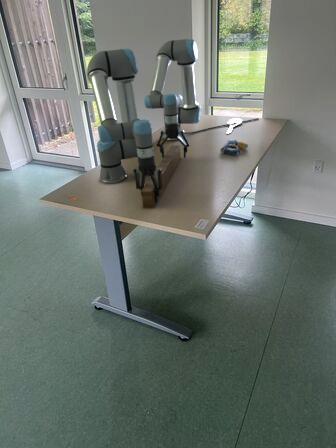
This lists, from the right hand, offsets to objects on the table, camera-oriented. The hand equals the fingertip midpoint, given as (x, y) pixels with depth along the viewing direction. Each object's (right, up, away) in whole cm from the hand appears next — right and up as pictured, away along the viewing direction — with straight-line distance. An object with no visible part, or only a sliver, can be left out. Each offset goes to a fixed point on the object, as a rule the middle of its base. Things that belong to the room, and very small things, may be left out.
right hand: (174, 157), depth 205 cm
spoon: (+47, +35, +55) cm, 80 cm away
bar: (-6, -16, -20) cm, 27 cm away
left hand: (-12, -30, -43) cm, 53 cm away
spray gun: (+39, +6, +10) cm, 41 cm away
